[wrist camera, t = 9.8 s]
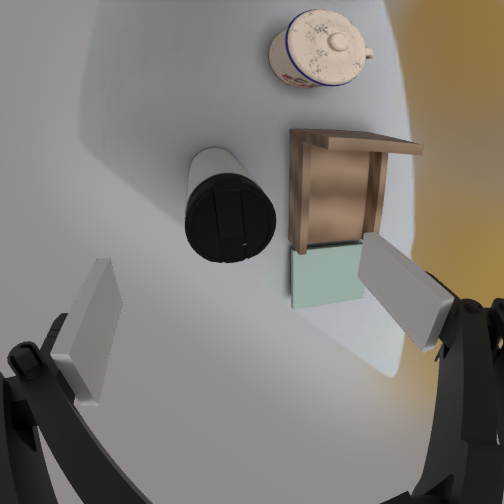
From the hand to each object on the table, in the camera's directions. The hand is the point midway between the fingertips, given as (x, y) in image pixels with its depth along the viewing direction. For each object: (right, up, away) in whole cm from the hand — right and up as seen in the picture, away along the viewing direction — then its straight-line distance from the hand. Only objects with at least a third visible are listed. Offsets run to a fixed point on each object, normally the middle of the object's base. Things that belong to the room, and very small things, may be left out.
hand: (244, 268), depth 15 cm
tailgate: (+12, +2, +28) cm, 30 cm away
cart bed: (+11, +10, +26) cm, 30 cm away
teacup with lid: (+8, +26, +17) cm, 32 cm away
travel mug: (-5, +11, +22) cm, 25 cm away
